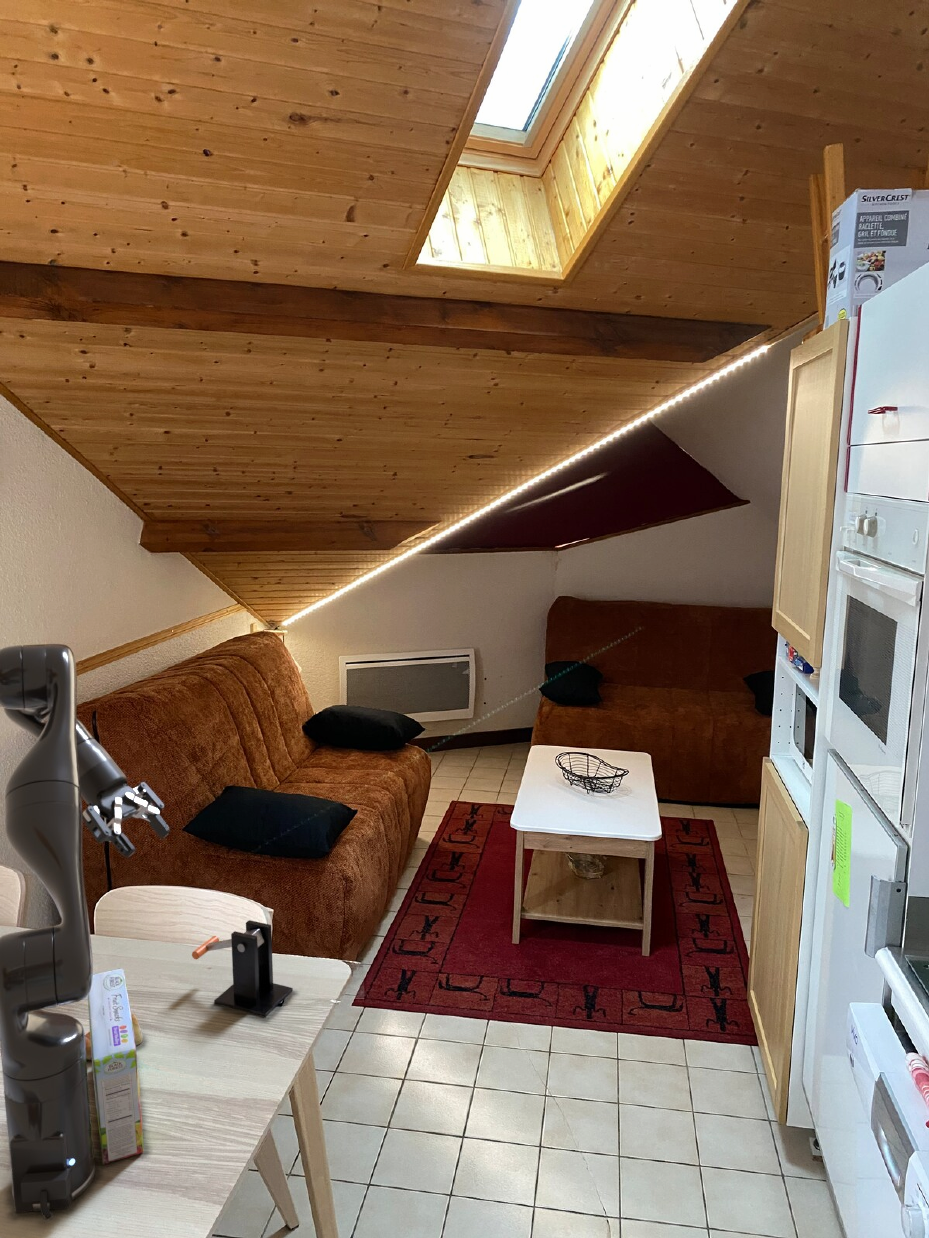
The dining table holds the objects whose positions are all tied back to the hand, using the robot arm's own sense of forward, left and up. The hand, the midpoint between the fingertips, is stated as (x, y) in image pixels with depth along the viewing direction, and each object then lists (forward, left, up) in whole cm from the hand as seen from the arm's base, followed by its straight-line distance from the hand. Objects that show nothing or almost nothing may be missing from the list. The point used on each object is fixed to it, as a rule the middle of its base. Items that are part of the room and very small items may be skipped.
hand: (149, 844), depth 154 cm
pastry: (-19, +2, -24) cm, 31 cm away
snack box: (-34, -2, -25) cm, 42 cm away
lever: (-7, -14, -16) cm, 23 cm away
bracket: (-9, -18, -24) cm, 32 cm away
